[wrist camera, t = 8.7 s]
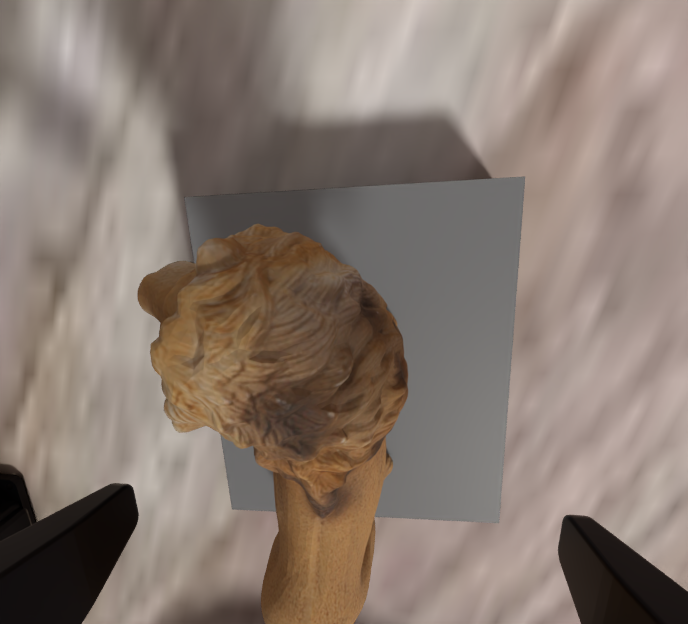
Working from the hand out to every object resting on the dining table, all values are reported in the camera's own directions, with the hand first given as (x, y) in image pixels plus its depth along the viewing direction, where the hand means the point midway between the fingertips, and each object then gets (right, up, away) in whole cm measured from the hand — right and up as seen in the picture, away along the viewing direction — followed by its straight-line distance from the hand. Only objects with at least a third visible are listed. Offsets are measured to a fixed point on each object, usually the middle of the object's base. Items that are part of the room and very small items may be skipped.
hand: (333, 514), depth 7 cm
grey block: (+1, +3, +11) cm, 11 cm away
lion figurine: (0, +1, +7) cm, 7 cm away
